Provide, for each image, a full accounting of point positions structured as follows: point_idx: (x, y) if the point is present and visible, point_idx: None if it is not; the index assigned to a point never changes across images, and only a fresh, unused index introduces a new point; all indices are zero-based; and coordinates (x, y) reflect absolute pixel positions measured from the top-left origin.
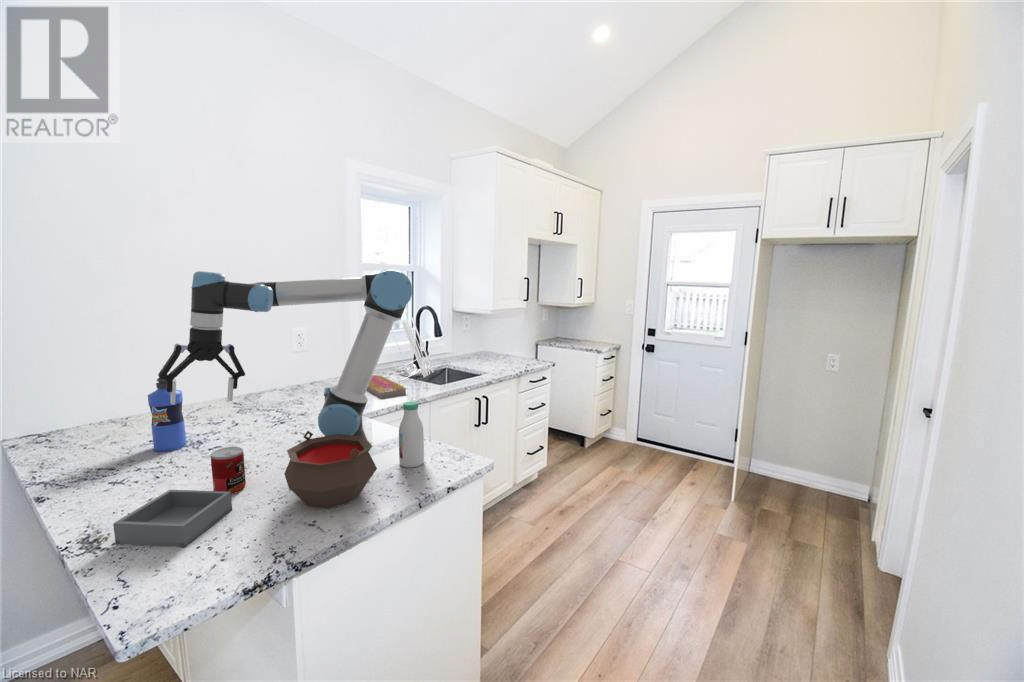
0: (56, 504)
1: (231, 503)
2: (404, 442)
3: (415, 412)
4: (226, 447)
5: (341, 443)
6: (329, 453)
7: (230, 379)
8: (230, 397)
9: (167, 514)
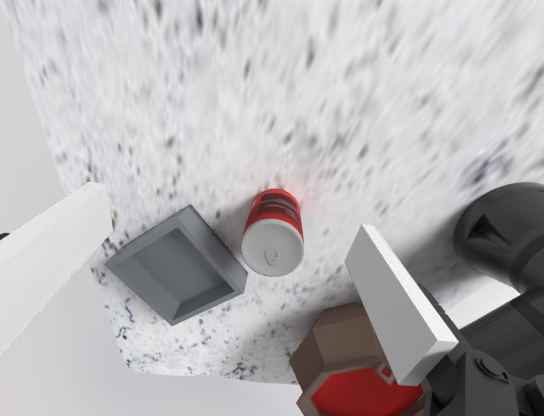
0: (20, 3)
1: (245, 280)
2: None
3: None
4: (283, 226)
5: None
6: (372, 383)
7: (400, 375)
8: (353, 274)
9: (177, 234)
